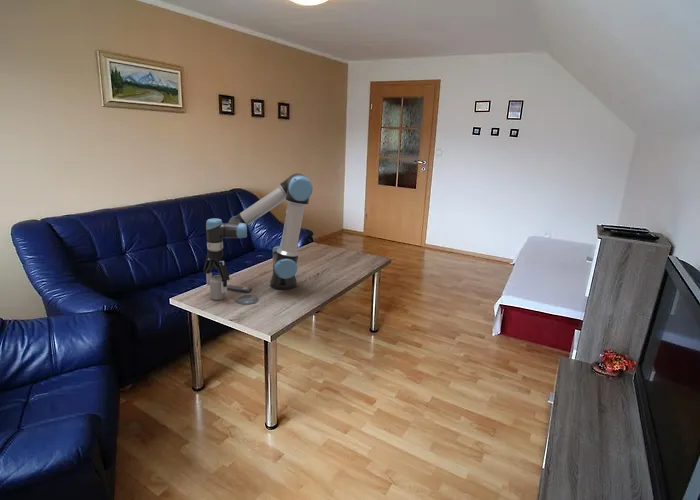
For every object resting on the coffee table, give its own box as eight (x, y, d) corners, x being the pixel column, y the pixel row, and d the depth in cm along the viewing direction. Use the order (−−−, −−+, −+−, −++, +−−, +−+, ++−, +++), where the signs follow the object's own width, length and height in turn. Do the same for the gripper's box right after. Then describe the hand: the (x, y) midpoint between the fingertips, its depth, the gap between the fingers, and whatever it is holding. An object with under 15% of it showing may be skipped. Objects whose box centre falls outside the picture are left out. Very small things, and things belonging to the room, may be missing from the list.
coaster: (249, 294, 216) (249, 293, 216) (262, 300, 209) (262, 299, 209) (232, 300, 208) (232, 299, 208) (245, 306, 201) (245, 305, 201)
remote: (225, 290, 220) (225, 286, 220) (229, 288, 224) (229, 284, 223) (248, 294, 217) (248, 290, 216) (251, 291, 221) (251, 287, 220)
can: (226, 294, 214) (225, 273, 211) (225, 300, 207) (223, 278, 204) (211, 295, 212) (210, 274, 209) (209, 301, 206) (208, 279, 202)
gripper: (195, 245, 207) (197, 283, 213) (222, 256, 192) (224, 297, 198) (208, 242, 212) (210, 280, 218) (236, 253, 197) (237, 293, 203)
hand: (216, 288), depth 208 cm, fingers open, 13 cm apart
